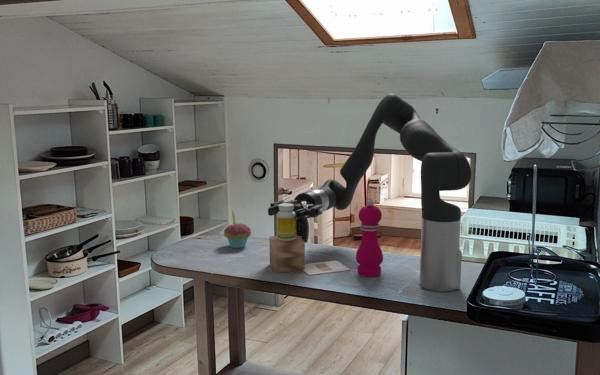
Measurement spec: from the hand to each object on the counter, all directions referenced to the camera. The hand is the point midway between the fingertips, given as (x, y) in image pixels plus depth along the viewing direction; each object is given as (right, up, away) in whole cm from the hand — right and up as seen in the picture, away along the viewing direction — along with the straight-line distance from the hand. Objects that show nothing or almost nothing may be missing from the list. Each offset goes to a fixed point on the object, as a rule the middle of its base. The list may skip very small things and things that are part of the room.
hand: (282, 213), depth 150 cm
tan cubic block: (+1, -15, +4) cm, 16 cm away
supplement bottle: (+1, -7, +3) cm, 8 cm away
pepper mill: (+23, -16, -2) cm, 28 cm away
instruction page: (+11, -15, +3) cm, 19 cm away
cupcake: (-15, -12, +26) cm, 32 cm away
